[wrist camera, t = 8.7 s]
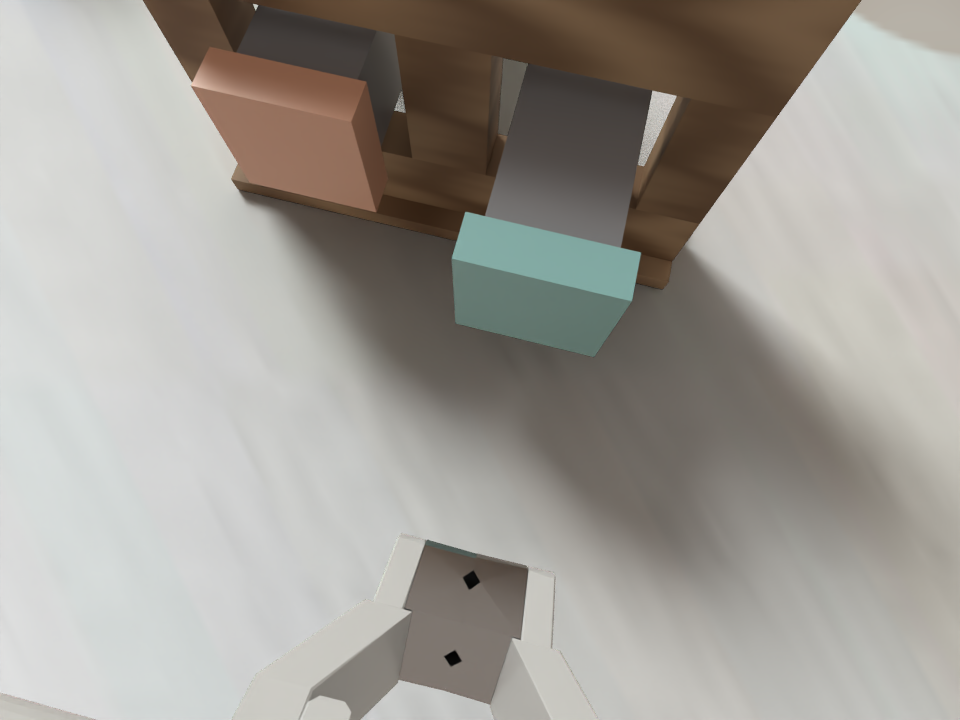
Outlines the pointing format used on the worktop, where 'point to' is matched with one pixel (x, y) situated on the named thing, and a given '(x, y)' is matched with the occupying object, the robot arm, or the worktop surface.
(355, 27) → the terracotta button
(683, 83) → the walnut panel
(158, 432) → the worktop surface
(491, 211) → the teal button
